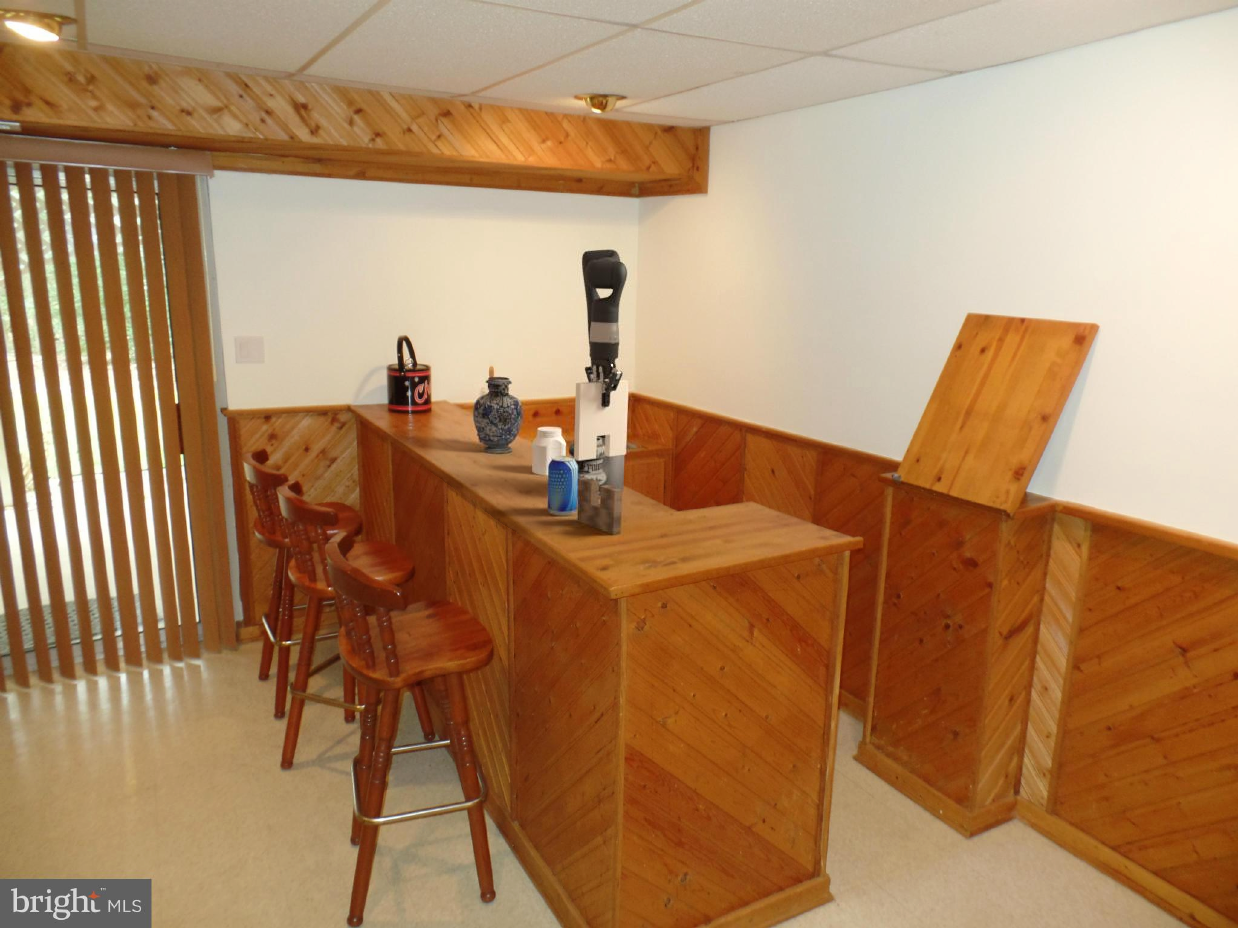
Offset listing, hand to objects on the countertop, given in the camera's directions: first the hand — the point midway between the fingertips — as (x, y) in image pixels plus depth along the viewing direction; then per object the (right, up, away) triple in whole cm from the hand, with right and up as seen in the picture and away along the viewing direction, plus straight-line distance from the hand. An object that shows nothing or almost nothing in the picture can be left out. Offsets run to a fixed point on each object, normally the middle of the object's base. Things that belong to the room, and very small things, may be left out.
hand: (602, 405), depth 223 cm
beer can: (-12, -29, +20) cm, 38 cm away
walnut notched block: (-1, -32, +7) cm, 33 cm away
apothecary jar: (-6, -25, +40) cm, 48 cm away
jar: (-20, -18, +69) cm, 74 cm away
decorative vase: (-42, -11, +99) cm, 108 cm away
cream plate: (-1, -13, +3) cm, 14 cm away
